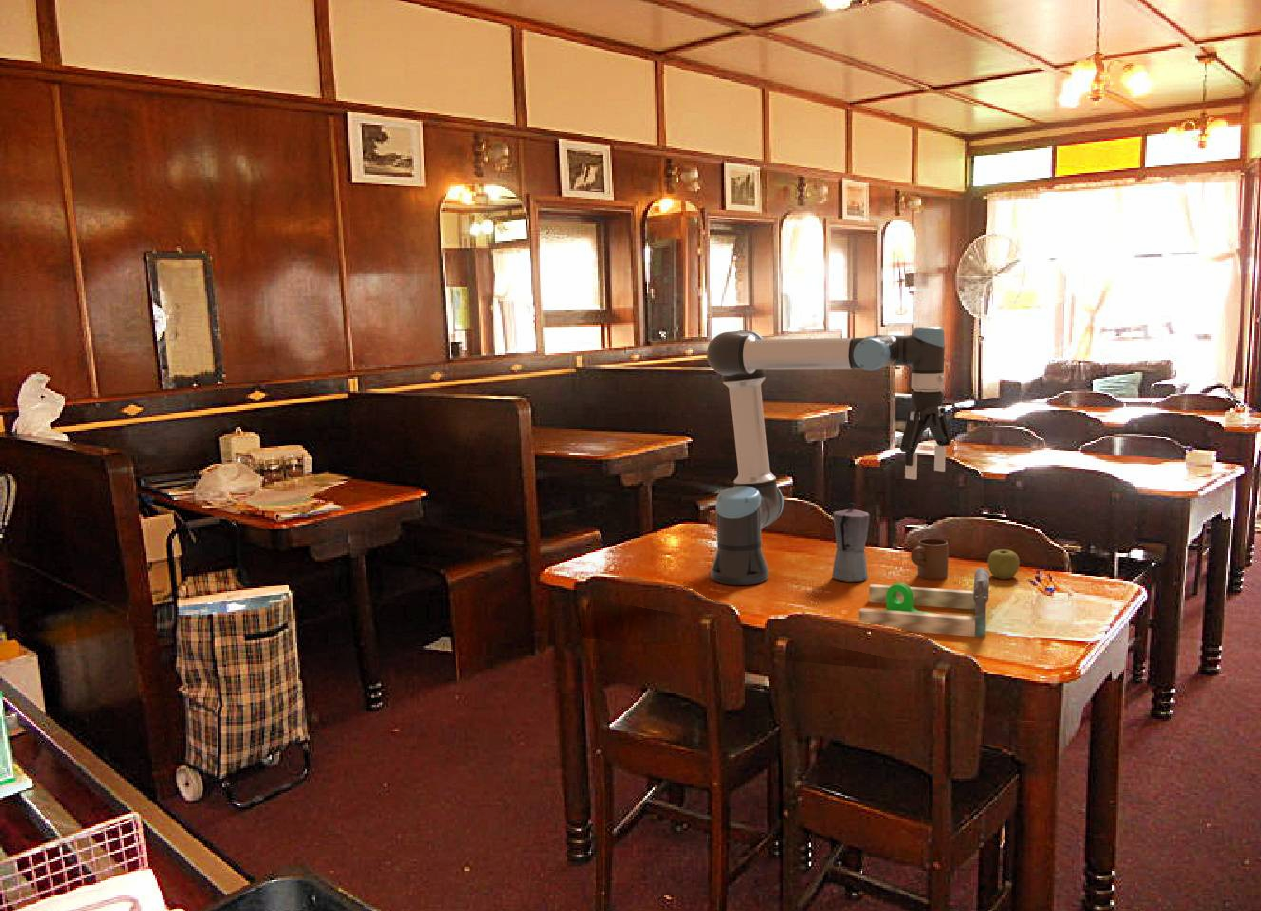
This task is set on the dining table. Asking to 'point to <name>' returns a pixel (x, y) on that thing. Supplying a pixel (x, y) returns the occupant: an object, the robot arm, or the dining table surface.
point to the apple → (1003, 563)
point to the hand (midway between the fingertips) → (925, 474)
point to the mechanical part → (897, 605)
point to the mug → (931, 559)
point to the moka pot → (850, 544)
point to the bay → (936, 599)
